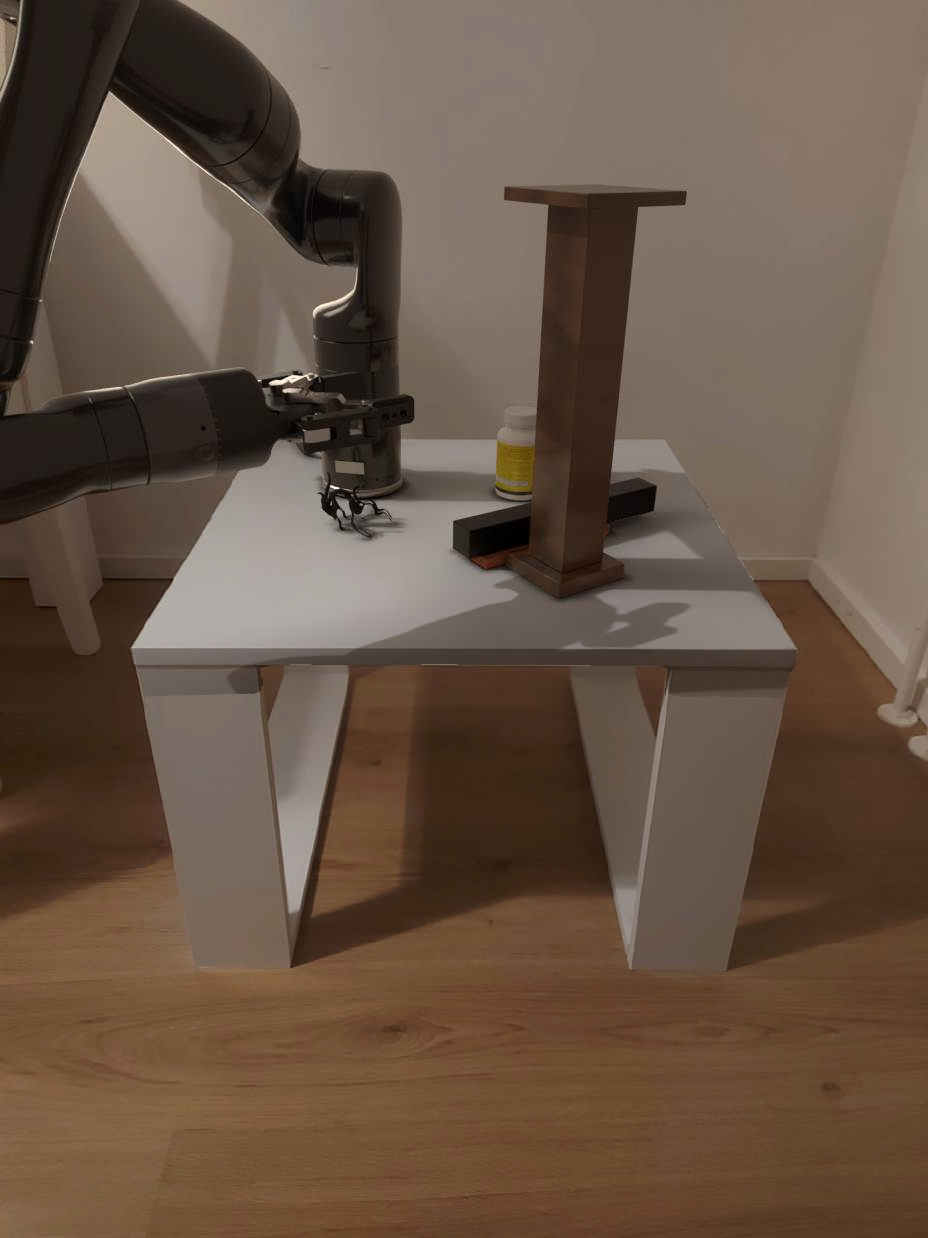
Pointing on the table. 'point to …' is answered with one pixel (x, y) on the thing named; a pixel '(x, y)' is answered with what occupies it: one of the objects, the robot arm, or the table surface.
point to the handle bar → (514, 522)
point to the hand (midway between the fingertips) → (385, 395)
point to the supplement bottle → (516, 454)
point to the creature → (353, 504)
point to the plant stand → (579, 377)
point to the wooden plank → (504, 555)
